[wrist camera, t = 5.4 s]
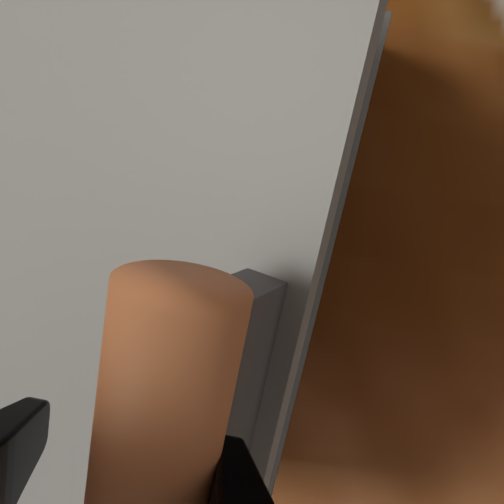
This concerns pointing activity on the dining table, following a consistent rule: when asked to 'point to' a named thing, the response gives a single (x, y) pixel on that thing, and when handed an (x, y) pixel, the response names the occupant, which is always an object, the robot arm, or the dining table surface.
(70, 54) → the flap
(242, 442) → the robot arm
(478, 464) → the dining table surface
